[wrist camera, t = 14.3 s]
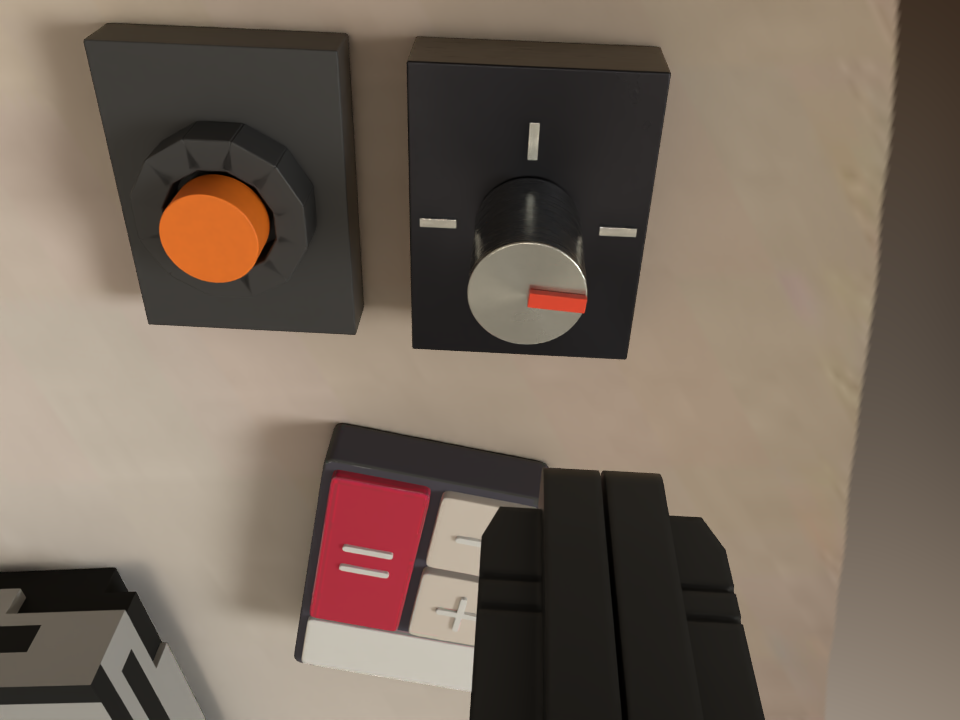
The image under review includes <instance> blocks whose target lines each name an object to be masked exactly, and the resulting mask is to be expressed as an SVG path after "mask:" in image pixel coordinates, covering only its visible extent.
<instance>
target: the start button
mask: <svg viewBox="0 0 960 720" xmlns="http://www.w3.org/2000/svg"><path fill="white" fill-rule="evenodd" d="M269 232H270V220H269V215H268V212H267V209H266V207H265V205H264V203H263V202H262V200H261V199H260V198H259V196H258V195H257V194H256V193H255V192H254V191H253V190H252V189H251V188H249V187H248V186H247V185H245V184H244V183H242V182H241V181H238V180H236V179H234V178H231V177H228V176H224V175H217V174H208V175H202V176H199V177H196V178H194V179H192V180H190V181H188V182H187V183H186V184H185V185H184V186H183V187H182V188H181V189H180V191H179V192H178V193H177V194H176V196H175V197H174V198H173V200H172V201H171V202H170V204H169V205H168V206H167V208H166V209H165V210H164V212H163V214H162V216H161V219H160V224H159V234H160V240H161V243H162V246H163V248H164V250H165V252H166V254H167V255H168V256H169V258H170V259H171V260H172V261H173V263H174V264H175V265H176V266H178V267H179V268H180V269H181V270H183V271H184V272H185V273H187V274H189V275H191V276H193V277H195V278H197V279H200V280H203V281H207V282H214V283H224V282H230V281H234V280H236V279H239V278H241V277H242V276H244V275H245V274H247V273H248V272H249V271H250V270H251V269H252V268H253V266H254V264H255V263H256V261H257V259H258V257H259V255H260V253H261V251H262V249H263V247H264V245H265V243H266V241H267V239H268V236H269Z"/></svg>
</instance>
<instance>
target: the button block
mask: <svg viewBox="0 0 960 720" xmlns="http://www.w3.org/2000/svg"><path fill="white" fill-rule="evenodd" d="M84 45H85V50H86V54H87V58H88V63H89V67H90V71H91V76H92V80H93V84H94V89H95V93H96V98H97V102H98V106H99V111H100V115H101V119H102V124H103V128H104V132H105V137H106V141H107V145H108V150H109V154H110V159H111V163H112V167H113V172H114V176H115V180H116V185H117V189H118V193H119V198H120V202H121V206H122V211H123V215H124V220H125V224H126V228H127V233H128V237H129V241H130V246H131V250H132V254H133V259H134V263H135V267H136V272H137V276H138V280H139V285H140V289H141V294H142V298H143V302H144V307H145V311H146V315H147V320H148V324H153V325H173V326H192V327H212V328H231V329H251V330H270V331H290V332H309V333H329V334H348V335H355V334H356V332H357V329H358V325H359V322H360V318H361V315H362V312H363V308H364V304H363V287H362V270H361V252H360V235H359V217H358V200H357V183H356V165H355V148H354V130H353V113H352V96H351V78H350V61H349V43H348V34H346V33H323V32H300V31H277V30H254V29H231V28H208V27H185V26H162V25H139V24H116V23H107V24H106V25H104V26H103V27H101V28H100V29H99V30H97V31H96V32H94V33H93V34H91V35H90V36H88V37H87V38H86V39H84ZM208 174H217V175H224V176H228V177H231V178H234V179H236V180H238V181H241V182H242V183H244V184H245V185H247V186H248V187H249V188H251V189H252V190H253V191H254V192H255V193H256V194H257V195H258V196H259V198H260V199H261V200H262V202H263V203H264V205H265V207H266V209H267V212H268V215H269V220H270V232H269V236H268V239H267V241H266V243H265V245H264V247H263V249H262V251H261V253H260V255H259V257H258V259H257V261H256V263H255V264H254V266H253V268H252V269H251V270H250V271H249V272H248V273H247V274H245V275H244V276H242V277H241V278H239V279H236V280H234V281H230V282H224V283H214V282H207V281H203V280H200V279H197V278H195V277H193V276H191V275H189V274H187V273H185V272H184V271H183V270H181V269H180V268H179V267H178V266H176V265H175V264H174V263H173V261H172V260H171V259H170V258H169V256H168V255H167V254H166V252H165V250H164V248H163V246H162V243H161V240H160V234H159V224H160V219H161V216H162V214H163V212H164V210H165V209H166V208H167V206H168V205H169V204H170V202H171V201H172V200H173V198H174V197H175V196H176V194H177V193H178V192H179V191H180V189H181V188H182V187H183V186H184V185H185V184H186V183H187V182H188V181H190V180H192V179H194V178H196V177H199V176H202V175H208Z"/></svg>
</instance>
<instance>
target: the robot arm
mask: <svg viewBox="0 0 960 720" xmlns="http://www.w3.org/2000/svg"><path fill="white" fill-rule="evenodd" d="M470 720H765V718H764V714H763V709H762V705H761V701H760V696H759V692H758V688H757V683H756V679H755V675H754V670H753V666H752V662H751V658H750V653H749V649H748V645H747V640H746V636H745V632H744V627H743V624H741V614H740V610H739V606H738V602H737V597H736V594H734V584H733V580H732V576H731V571H730V567H729V563H728V558H727V554H726V550H725V549H724V547H723V546H722V545H721V543H720V542H719V541H718V539H717V538H716V536H715V535H714V534H713V532H712V531H711V530H710V528H709V527H708V526H707V524H706V523H705V522H704V520H703V519H702V518H701V517H684V516H669V513H668V507H667V501H666V495H665V489H664V484H663V480H662V477H661V475H660V474H656V473H638V472H620V471H602V473H601V476H600V473H599V471H597V470H579V469H561V468H542V472H541V481H540V491H539V501H538V508H521V507H503V506H500V507H499V509H498V510H497V512H496V514H495V515H494V517H493V518H492V520H491V522H490V523H489V525H488V527H487V528H486V530H485V531H484V533H483V535H482V536H481V551H480V566H479V582H478V597H477V613H476V628H475V643H474V659H473V674H472V690H471V705H470Z"/></svg>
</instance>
